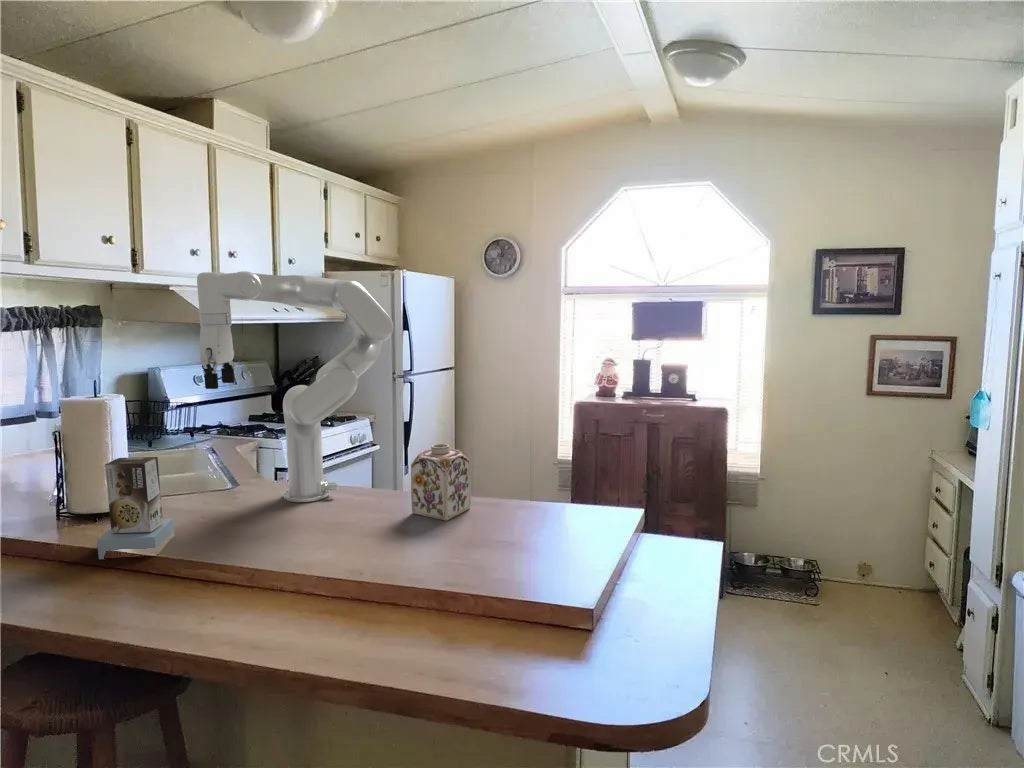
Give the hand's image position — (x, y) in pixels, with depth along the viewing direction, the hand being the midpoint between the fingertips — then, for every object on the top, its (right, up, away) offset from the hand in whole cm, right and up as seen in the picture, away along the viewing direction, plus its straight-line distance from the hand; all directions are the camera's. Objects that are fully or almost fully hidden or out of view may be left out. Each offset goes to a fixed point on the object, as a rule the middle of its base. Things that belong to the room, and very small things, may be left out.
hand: (220, 385), depth 181 cm
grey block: (-10, -38, -22) cm, 45 cm away
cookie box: (-9, -33, -23) cm, 41 cm away
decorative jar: (+58, -34, +2) cm, 67 cm away
